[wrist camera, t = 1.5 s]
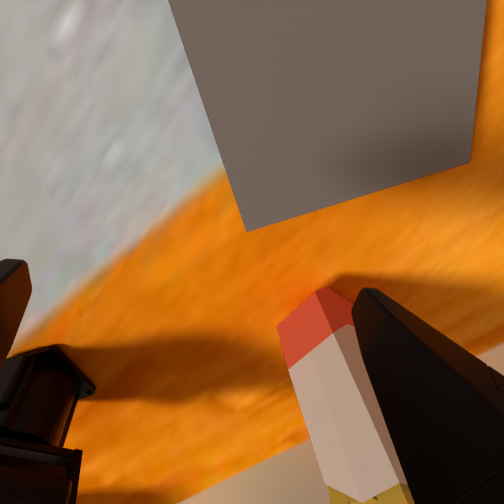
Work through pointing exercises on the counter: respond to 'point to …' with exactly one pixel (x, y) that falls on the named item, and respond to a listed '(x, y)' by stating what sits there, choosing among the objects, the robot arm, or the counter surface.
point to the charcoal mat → (332, 94)
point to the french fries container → (340, 403)
